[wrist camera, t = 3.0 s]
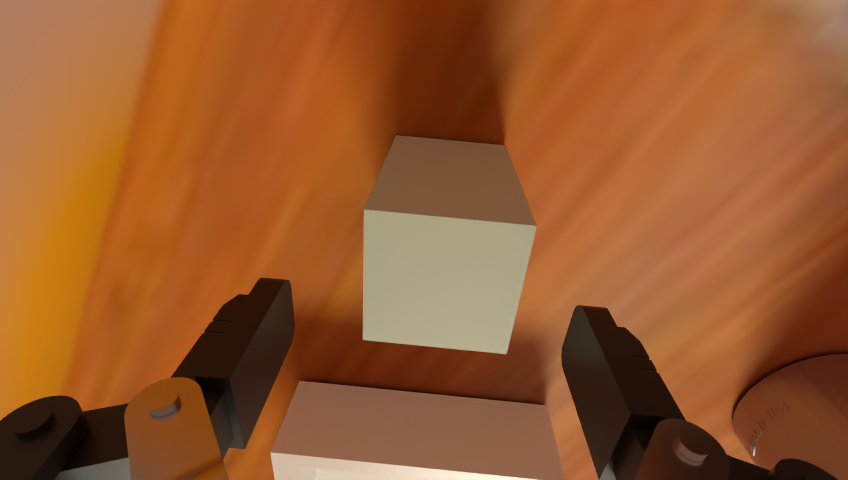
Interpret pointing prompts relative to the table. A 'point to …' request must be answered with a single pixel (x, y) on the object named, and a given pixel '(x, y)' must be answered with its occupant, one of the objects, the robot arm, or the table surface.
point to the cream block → (445, 246)
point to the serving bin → (411, 437)
